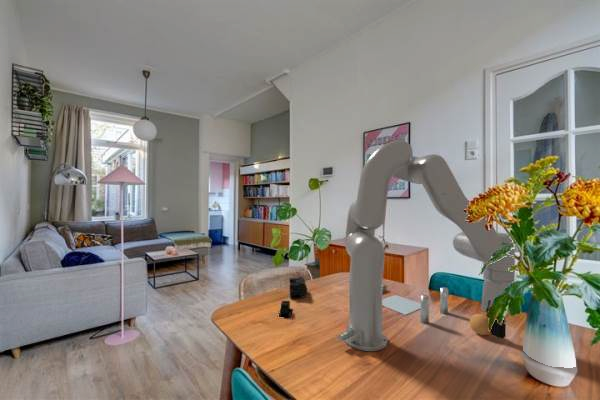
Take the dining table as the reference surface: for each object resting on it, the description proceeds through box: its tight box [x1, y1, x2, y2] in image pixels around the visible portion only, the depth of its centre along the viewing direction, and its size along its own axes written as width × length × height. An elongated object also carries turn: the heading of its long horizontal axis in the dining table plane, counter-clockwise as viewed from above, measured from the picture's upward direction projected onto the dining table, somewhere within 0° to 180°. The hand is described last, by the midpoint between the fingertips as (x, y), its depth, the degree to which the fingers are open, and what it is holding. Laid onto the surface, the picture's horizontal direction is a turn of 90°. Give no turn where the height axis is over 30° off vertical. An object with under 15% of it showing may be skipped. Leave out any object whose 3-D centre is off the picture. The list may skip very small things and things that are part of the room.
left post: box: [420, 294, 430, 325], centre depth 93 cm, size 3×3×9 cm
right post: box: [439, 286, 449, 315], centre depth 100 cm, size 3×3×9 cm
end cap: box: [289, 276, 308, 300], centre depth 118 cm, size 10×7×7 cm
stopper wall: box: [382, 283, 388, 293], centre depth 119 cm, size 18×2×2 cm, turn 126°
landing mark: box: [382, 294, 421, 316], centre depth 108 cm, size 14×14×1 cm
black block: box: [278, 300, 294, 319], centre depth 100 cm, size 12×7×5 cm, turn 176°
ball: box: [469, 313, 491, 336], centre depth 85 cm, size 6×6×6 cm
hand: (498, 335), depth 81 cm, fingers closed
